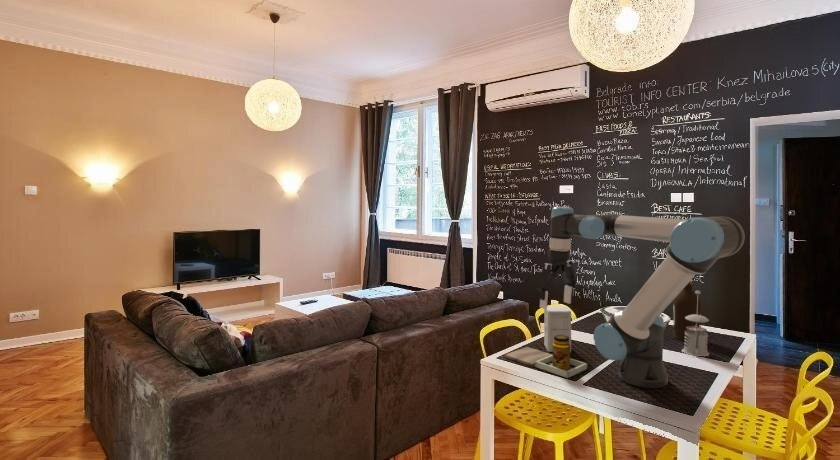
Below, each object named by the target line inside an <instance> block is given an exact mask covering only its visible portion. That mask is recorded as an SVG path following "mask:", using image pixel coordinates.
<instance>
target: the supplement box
mask: <svg viewBox="0 0 840 460" xmlns="http://www.w3.org/2000/svg"><path fill="white" fill-rule="evenodd" d="M543 314H544V317H543V319H544V320H543V322H544V326H543V327H544V328H543V330H544V332H543V335H544V338H543V341H544V343H543V345H544V346H545V349H546V351H547V353H553V343H554V336H556V335H565V336H568V337H569V345H570V353H572V311H571V309H570V308H569V307H568V306H567V305H547V309H543Z"/></svg>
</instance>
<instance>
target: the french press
mask: <svg viewBox="0 0 840 460" xmlns="http://www.w3.org/2000/svg"><path fill="white" fill-rule="evenodd" d="M694 293H695V294H696V295H697V313H698V297H699V295H701V291H700V290H695V292H694ZM685 319H686V320H688V321H692V322H696V325H695V326H688V327H686V329H687V330H686V331H685V335H687V336H688V337H686V336H685V341H683V342H684V346H683V348H682V349H681V353H683V352H684V353H683V354H685V353H686V354H685V355H687V354H689V355H688V356H690V355H693V356H692V357H695V356H708V355H709V354H710V352H709V351H708V337H709V333H708V332H707V331H708V330H707V328H704V327H702V325H701V323H708V322H709V318H707V317H706V316H704V315H698V314H694V315H689V316H686V317H685ZM697 322H699V323H700V327H697ZM688 338H689V339H688ZM686 339H687V340H686ZM688 341H689V342H688ZM708 357H709V356H708Z"/></svg>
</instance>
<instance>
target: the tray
mask: <svg viewBox="0 0 840 460" xmlns="http://www.w3.org/2000/svg"><path fill="white" fill-rule="evenodd" d="M552 357H553V354H552V355H550V356H548V357H545V358H543V359H540V360H537V361H535V366H534V367H535V368H538V369H541V370H543V371H546V372H549V373H551V374H554V375H558V376H561V377H564V378H566V379H568V378H571V377H573V376H575V375H577V374H581V373H582V372H584V371H586V370H587V369H588V363H587V362H584V361H580V360H579V359H578V360H577V359H574V358H571V357H570V366H574V367H573V368H572V369H571V370H568V371H565V370H562V369H559V368H556V367H553V366H550V365H549V363H552Z"/></svg>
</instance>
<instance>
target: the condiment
mask: <svg viewBox="0 0 840 460" xmlns="http://www.w3.org/2000/svg"><path fill="white" fill-rule="evenodd" d="M552 355H553V357H552V361H551V362H549V363H548V365H550V366H553V367H556V368H559V369H562V370H565V371H568V370H571V369H573V368H572V367H571V366H572V365H571V364H570V358H571V352H570V345H569V337H568V336H565V335H556V336H554V343H553V352H552Z"/></svg>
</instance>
